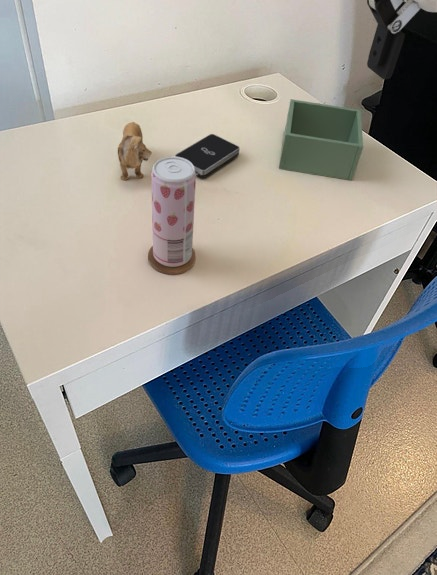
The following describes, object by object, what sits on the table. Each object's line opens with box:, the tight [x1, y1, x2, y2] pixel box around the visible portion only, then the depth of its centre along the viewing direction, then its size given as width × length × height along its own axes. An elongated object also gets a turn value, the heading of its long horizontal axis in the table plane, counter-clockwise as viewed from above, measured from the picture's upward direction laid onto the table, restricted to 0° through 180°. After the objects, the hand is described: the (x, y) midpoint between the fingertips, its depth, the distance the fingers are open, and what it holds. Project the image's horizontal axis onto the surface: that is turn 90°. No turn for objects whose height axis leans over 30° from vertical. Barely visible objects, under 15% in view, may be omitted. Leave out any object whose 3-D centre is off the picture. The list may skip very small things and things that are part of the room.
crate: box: [278, 98, 364, 181], centre depth 93 cm, size 14×14×7 cm
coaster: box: [147, 245, 197, 276], centre depth 73 cm, size 7×7×1 cm
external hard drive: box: [174, 133, 240, 179], centre depth 91 cm, size 7×11×2 cm, turn 142°
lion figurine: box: [117, 121, 153, 181], centre depth 85 cm, size 15×5×9 cm, turn 13°
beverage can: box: [150, 155, 197, 267], centre depth 67 cm, size 6×6×15 cm
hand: (420, 68), depth 47 cm, fingers open, 9 cm apart
